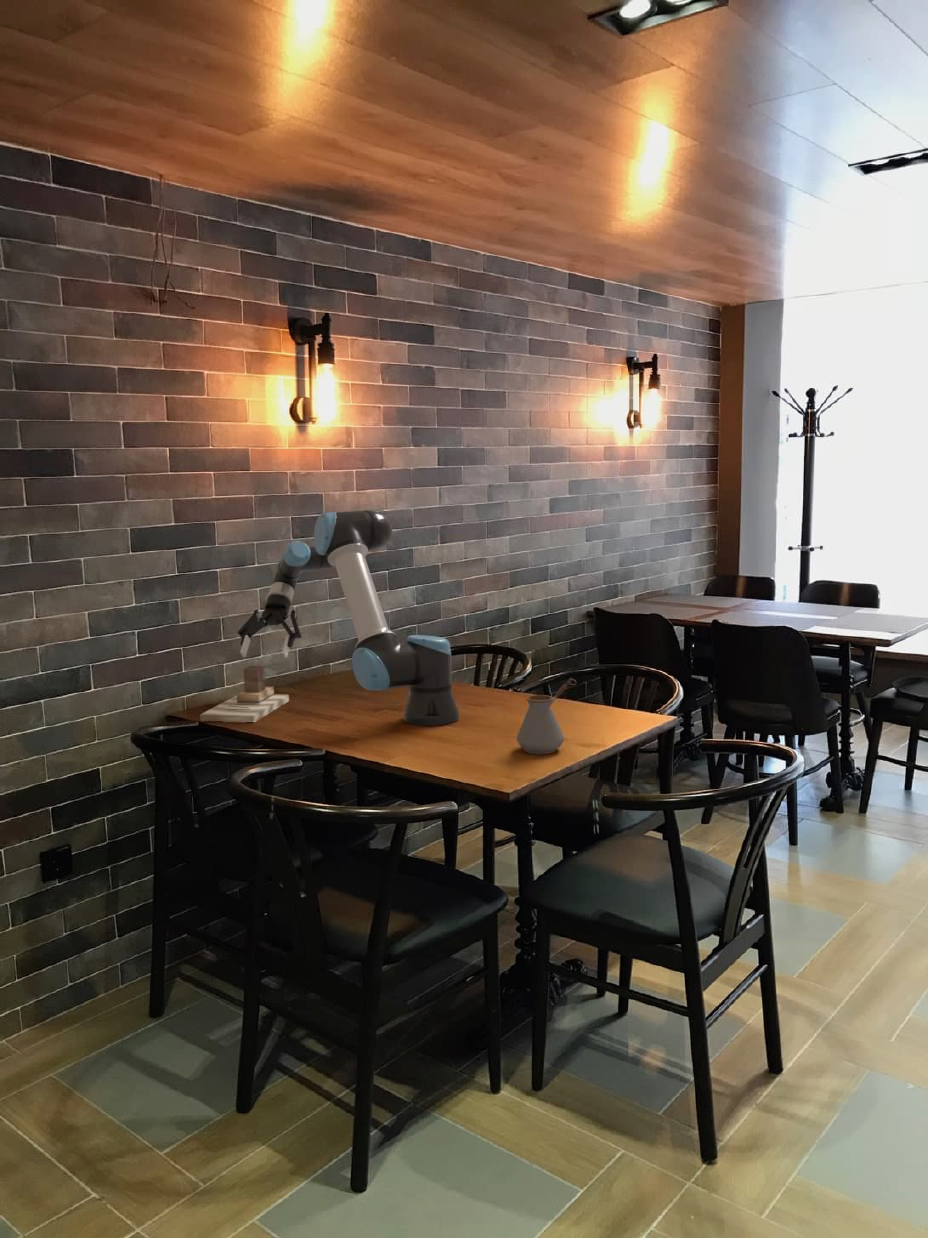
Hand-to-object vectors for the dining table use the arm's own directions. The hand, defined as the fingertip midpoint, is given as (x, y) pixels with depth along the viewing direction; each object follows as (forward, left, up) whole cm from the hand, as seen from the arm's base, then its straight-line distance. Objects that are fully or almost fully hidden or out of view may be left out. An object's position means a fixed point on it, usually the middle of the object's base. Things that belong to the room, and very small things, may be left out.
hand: (263, 655), depth 299 cm
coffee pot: (-102, -10, -14) cm, 103 cm away
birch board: (-8, +13, -14) cm, 21 cm away
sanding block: (-5, +7, -12) cm, 14 cm away
